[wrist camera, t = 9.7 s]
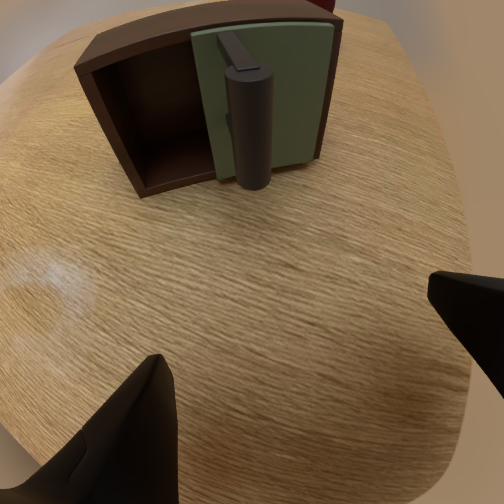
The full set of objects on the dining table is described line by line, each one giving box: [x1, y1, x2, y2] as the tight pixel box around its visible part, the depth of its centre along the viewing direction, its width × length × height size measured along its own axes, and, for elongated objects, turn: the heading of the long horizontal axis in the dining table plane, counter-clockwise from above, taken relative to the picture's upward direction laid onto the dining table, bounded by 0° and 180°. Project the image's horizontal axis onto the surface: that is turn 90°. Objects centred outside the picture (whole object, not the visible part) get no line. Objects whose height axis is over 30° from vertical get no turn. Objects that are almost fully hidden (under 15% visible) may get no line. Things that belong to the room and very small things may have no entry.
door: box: [191, 22, 334, 191], centre depth 13 cm, size 6×7×11 cm
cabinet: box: [74, 0, 344, 198], centre depth 16 cm, size 6×14×12 cm, turn 104°
